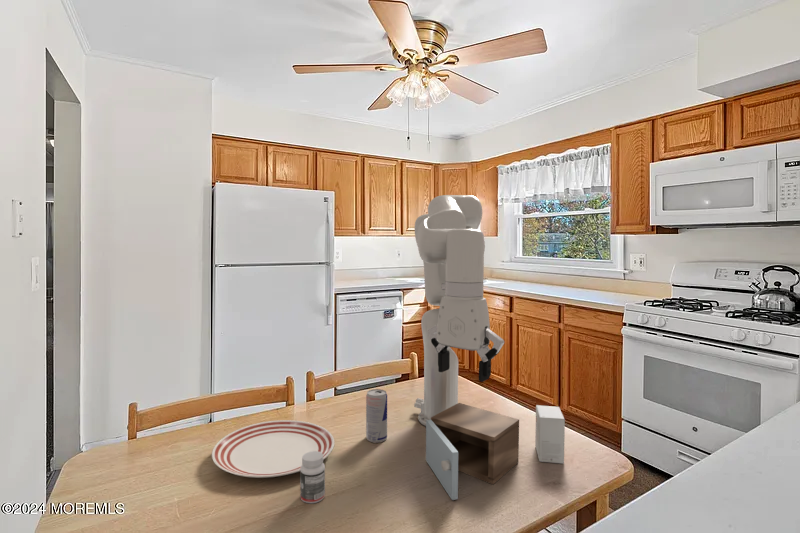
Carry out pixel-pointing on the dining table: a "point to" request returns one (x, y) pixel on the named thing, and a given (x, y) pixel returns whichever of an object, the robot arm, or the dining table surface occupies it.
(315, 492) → the pill bottle
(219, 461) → the dinner plate
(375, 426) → the energy drink
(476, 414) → the cabinet
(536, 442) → the small box
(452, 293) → the robot arm
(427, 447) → the side door
